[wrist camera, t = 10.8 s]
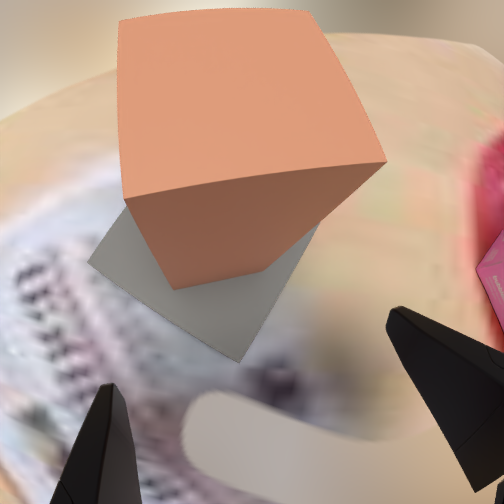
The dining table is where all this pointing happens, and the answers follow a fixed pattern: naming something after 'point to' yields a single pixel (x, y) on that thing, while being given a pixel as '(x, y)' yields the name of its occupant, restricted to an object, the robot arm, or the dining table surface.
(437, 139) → the dining table surface
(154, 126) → the carton
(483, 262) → the gum box
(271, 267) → the podium
